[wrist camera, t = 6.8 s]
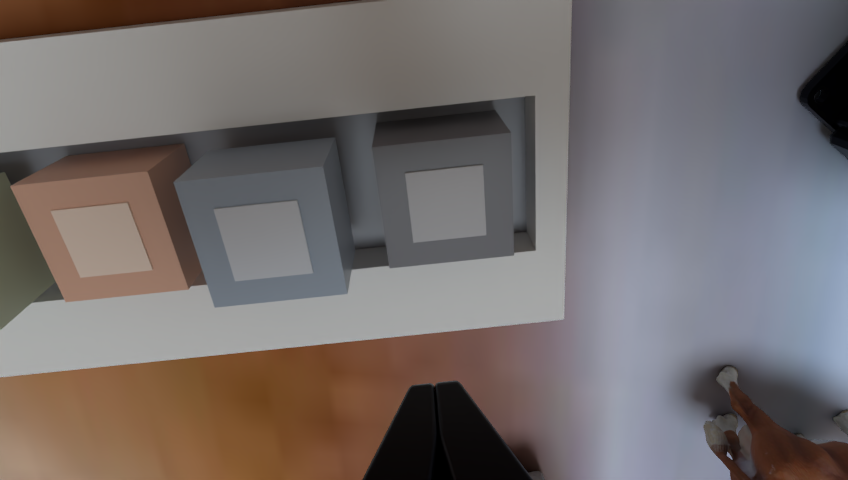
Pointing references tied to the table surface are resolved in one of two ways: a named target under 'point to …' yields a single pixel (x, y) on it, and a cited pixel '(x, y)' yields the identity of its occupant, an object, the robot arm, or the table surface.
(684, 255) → the table surface
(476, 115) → the key charcoal
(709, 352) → the table surface
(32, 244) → the key sage
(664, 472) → the table surface
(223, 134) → the keypad
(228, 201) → the key slate
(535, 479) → the ceramic mug
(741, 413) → the bull figurine
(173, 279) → the key terracotta
